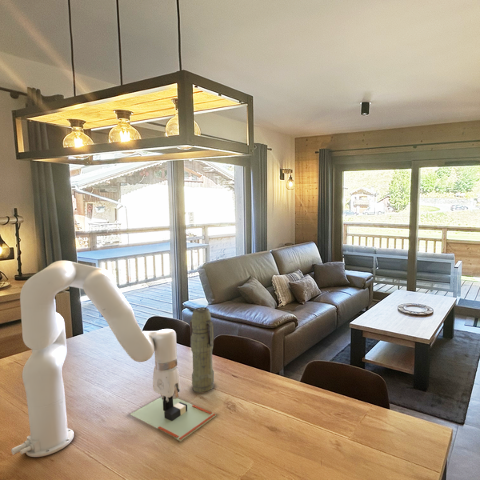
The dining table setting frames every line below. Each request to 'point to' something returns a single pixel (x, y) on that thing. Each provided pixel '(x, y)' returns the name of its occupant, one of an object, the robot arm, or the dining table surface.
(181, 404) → the eraser
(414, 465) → the dining table surface
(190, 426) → the desk mat
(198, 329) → the thermos
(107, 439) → the dining table surface
